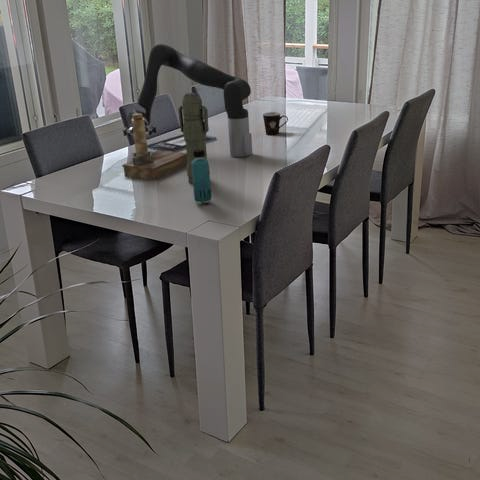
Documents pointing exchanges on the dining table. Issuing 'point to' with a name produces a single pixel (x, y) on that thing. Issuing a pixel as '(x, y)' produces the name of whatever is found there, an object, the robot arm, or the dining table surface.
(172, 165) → the board with square socket
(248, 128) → the robot arm
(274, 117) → the coffee mug
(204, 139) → the thermos
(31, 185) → the dining table surface
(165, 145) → the sketchbook
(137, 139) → the wooden square peg
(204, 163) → the beverage bottle
